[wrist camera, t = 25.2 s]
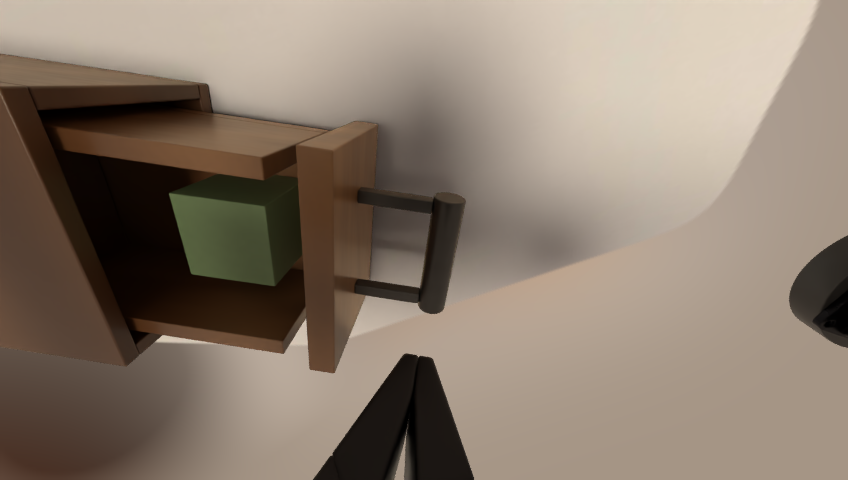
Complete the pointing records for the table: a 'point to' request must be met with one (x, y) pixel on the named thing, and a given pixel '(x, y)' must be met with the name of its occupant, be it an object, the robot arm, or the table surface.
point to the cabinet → (62, 213)
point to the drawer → (250, 158)
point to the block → (240, 227)
